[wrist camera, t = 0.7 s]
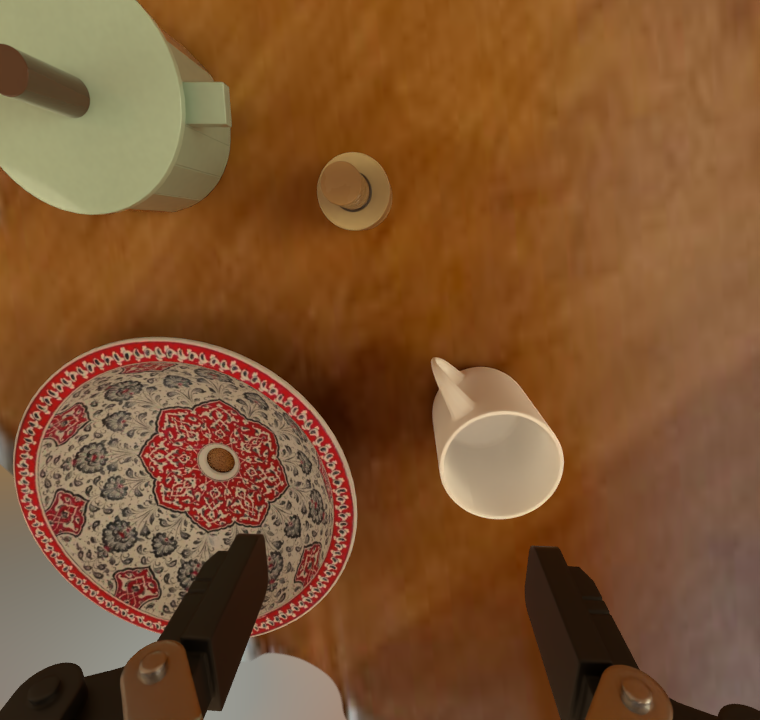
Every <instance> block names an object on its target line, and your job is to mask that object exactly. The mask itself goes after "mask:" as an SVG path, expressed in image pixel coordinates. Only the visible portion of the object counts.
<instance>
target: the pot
mask: <svg viewBox="0 0 760 720" xmlns="http://www.w3.org/2000/svg"><path fill="white" fill-rule="evenodd" d="M158 27H159V26H158ZM159 28H160V27H159ZM160 30H161V31H162V33H163V34H164V36H165V38H166V40H167V42H168V44H169V46H170V48H171V50H172V52H173V55H174V58H175V60H176V63H177V65H178V69H179V72H180V76H181V80H182V84H183V90H184V96H185V111H186V118H185V132H184V137H183V142H182V147H181V150H180V153H179V156H178V159H177V161H176V163H175V165H174V167H173V169H172V171H171V173H170V174H169V176H168V177H167V179H166V180H165V182H164V183H163V184H162V185H161V187H160V188H159V189H158V190H157V191H156V192H155V193H154V194H153V195H151V196H150V197H149V198H148V199H146V200H145V201H144V202H142V203H140V204H138V205H137V206H135V207H133V208H130V209H128V210H129V211H143V212H176V211H178V210H183V209H185V208H188V207H191V206H192V205H194V204H196V203H198V202H199V201H201V200H202V199H203V198H205V197H206V196H207V195H208V194H209V193H210V192H211V191H212V190H213V189H214V187H215V186H216V184H217V183H218V182H219V180H220V178H221V176H222V174H223V172H224V169H225V167H226V164H227V161H228V156H229V151H230V142H231V138H230V127H232V123H231V109H230V95H229V87H228V86H227V85H226V84H225V83H223V82H214V80H213V78H212V76H211V75H210V74H209V73H208V72H207V70H206V69H205V68H204V67H203V66H202V65H201V64H200V63H199V62H198V61H197V60H196V59H195V58H194V57H193V56H192V55H191V54H190V53H189V51H188V50H187V49H185V48H184V47H183V46H182V45H180V44H179V43H178V42H177V41H176V40H174V39H173V38H172V37H171V36H170V35H168V34H167V33H166V32H165V31H163V30H162V29H161V28H160Z"/></svg>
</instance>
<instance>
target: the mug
mask: <svg viewBox="0 0 760 720" xmlns="http://www.w3.org/2000/svg"><path fill="white" fill-rule="evenodd" d="M431 366H432V371H433V374H434V377H435V380H436V382H437V385H438V387H439V390H438V392H437V394H436V396H435V399H434V403H433V409H432V419H433V427H434V434H435V442H436V449H437V456H438V464H439V471H440V477H441V481H442V484H443V486H444V488H445V490H446V492H447V493H448V495H449V496H450V497H451V499H452V500H453V501H454V502H455V503H456V504H458V505H459V506H460V507H461V508H463V509H464V510H466V511H468V512H470V513H472V514H474V515H477V516H480V517H484V518H490V519H508V518H514V517H518V516H521V515H524V514H527V513H529V512H531V511H533V510H535V509H536V508H538V507H539V506H541V505H542V504H543V503H544V502H546V501H547V500H548V499H549V497H550V496H551V495H552V494H553V493H554V491H555V490H556V488H557V486H558V484H559V482H560V479H561V477H562V472H563V465H564V459H563V452H562V448H561V445H560V443H559V441H558V439H557V437H556V435H555V434H554V433H553V431H552V430H551V428H550V427H549V426H548V424H547V423H546V421H545V420H544V419H543V417H542V416H541V415H540V413H539V412H538V410H537V409H536V408H535V406H534V405H533V404H532V402H531V401H530V399H529V398H528V397H527V395H526V394H525V392H524V391H523V390H522V388H521V387H520V386H519V385H518V384H517V382H516V381H514V380H513V379H512V378H511V377H510V376H508V375H507V374H505V373H503V372H501V371H499V370H496V369H493V368H489V367H473V368H468V369H465V370H462V371H459V370H457V369H456V368H455V367H453V366H452V365H451V364H449V363H448V362H446V361H445V360H443V359H441V358H438V357H434V358H432V359H431Z"/></svg>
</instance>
